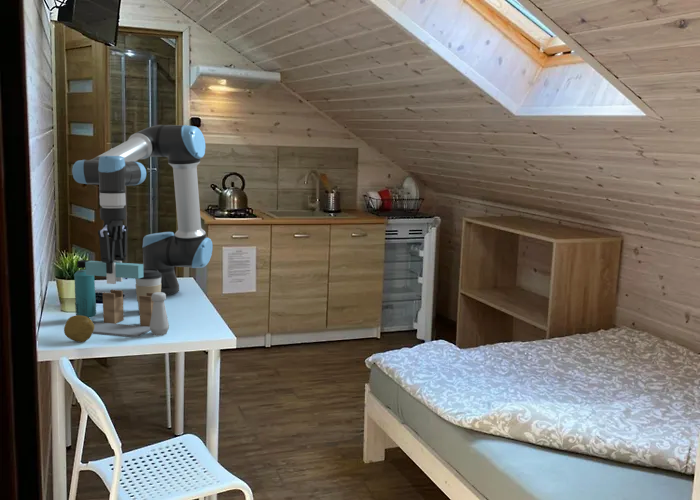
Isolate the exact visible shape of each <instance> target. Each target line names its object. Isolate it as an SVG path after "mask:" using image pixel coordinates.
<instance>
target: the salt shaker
mask: <svg viewBox="0 0 700 500" xmlns="http://www.w3.org/2000/svg"><path fill="white" fill-rule="evenodd" d="M166 300H167V295H166V294H165V293H163V292H156V293H153V294H152V301H154V304H153V310H152V316H151V321H150V330H151V331H150V332H151V334H152V335H153V336H158V337H159V336H165V335H167V333H168V330H169V328H170V325H169V320H168V314H167V309H166V304H165V301H166Z"/></svg>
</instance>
